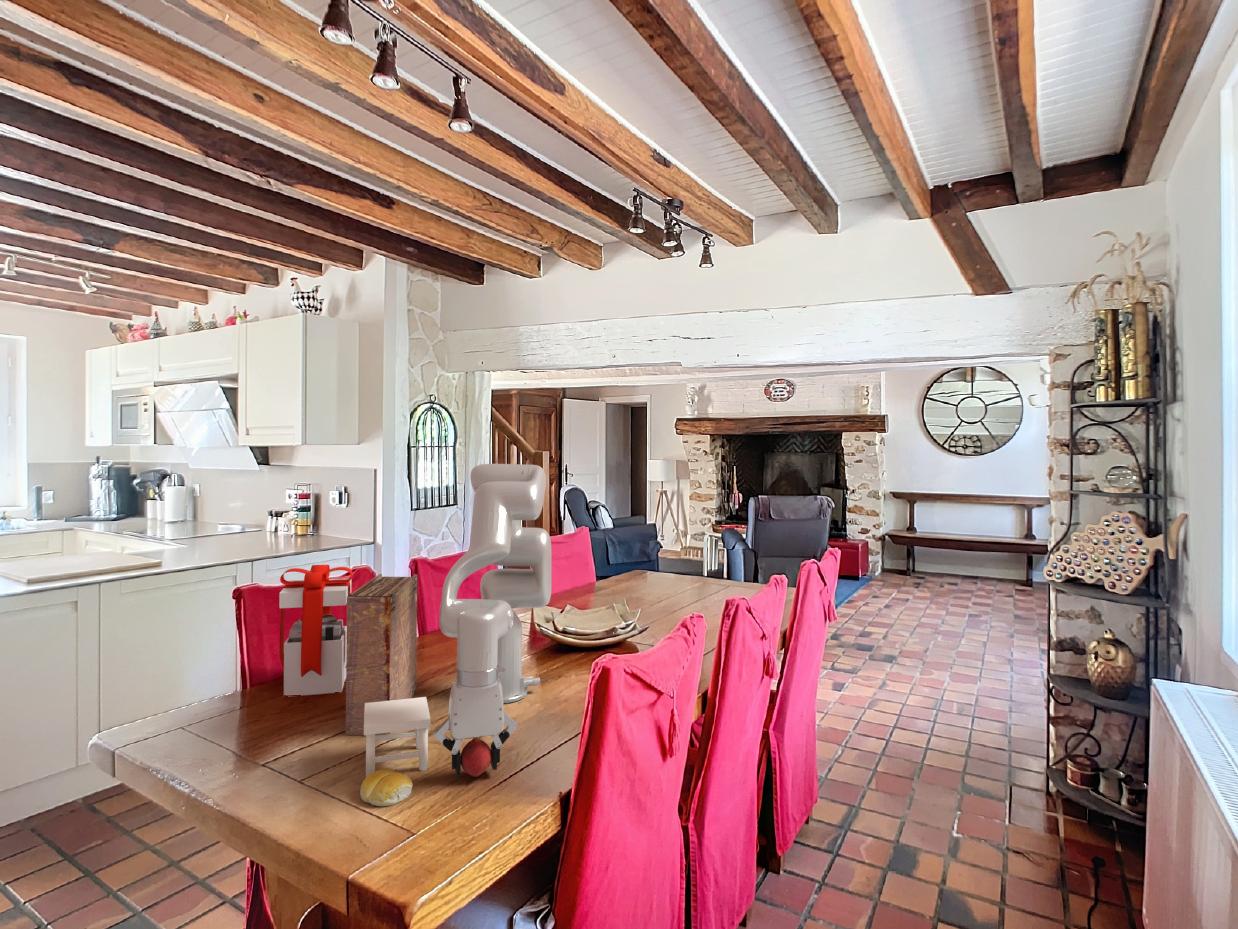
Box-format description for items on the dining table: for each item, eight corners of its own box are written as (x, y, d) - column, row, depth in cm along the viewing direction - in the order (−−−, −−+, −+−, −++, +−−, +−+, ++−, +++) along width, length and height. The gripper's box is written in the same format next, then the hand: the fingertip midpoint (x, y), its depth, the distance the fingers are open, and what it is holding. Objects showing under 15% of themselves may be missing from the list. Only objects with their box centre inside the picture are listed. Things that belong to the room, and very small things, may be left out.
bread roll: (387, 779, 128) (387, 758, 128) (419, 793, 123) (420, 771, 123) (348, 798, 121) (349, 775, 121) (381, 813, 116) (382, 790, 116)
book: (379, 692, 171) (380, 573, 170) (416, 692, 172) (418, 573, 171) (345, 736, 146) (346, 596, 145) (389, 735, 146) (390, 596, 145)
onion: (476, 787, 125) (476, 744, 125) (453, 778, 128) (454, 737, 128) (497, 774, 130) (498, 733, 130) (475, 766, 133) (475, 726, 133)
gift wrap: (273, 700, 164) (273, 576, 163) (286, 676, 181) (286, 564, 180) (349, 694, 169) (350, 574, 168) (355, 671, 185) (356, 562, 184)
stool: (425, 744, 143) (426, 696, 142) (429, 770, 131) (430, 719, 131) (364, 751, 138) (364, 703, 138) (363, 779, 127) (363, 727, 127)
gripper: (518, 665, 135) (517, 754, 136) (428, 673, 129) (427, 766, 130) (526, 677, 128) (524, 772, 129) (431, 687, 122) (430, 785, 123)
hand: (475, 768), depth 129 cm, fingers open, 6 cm apart
